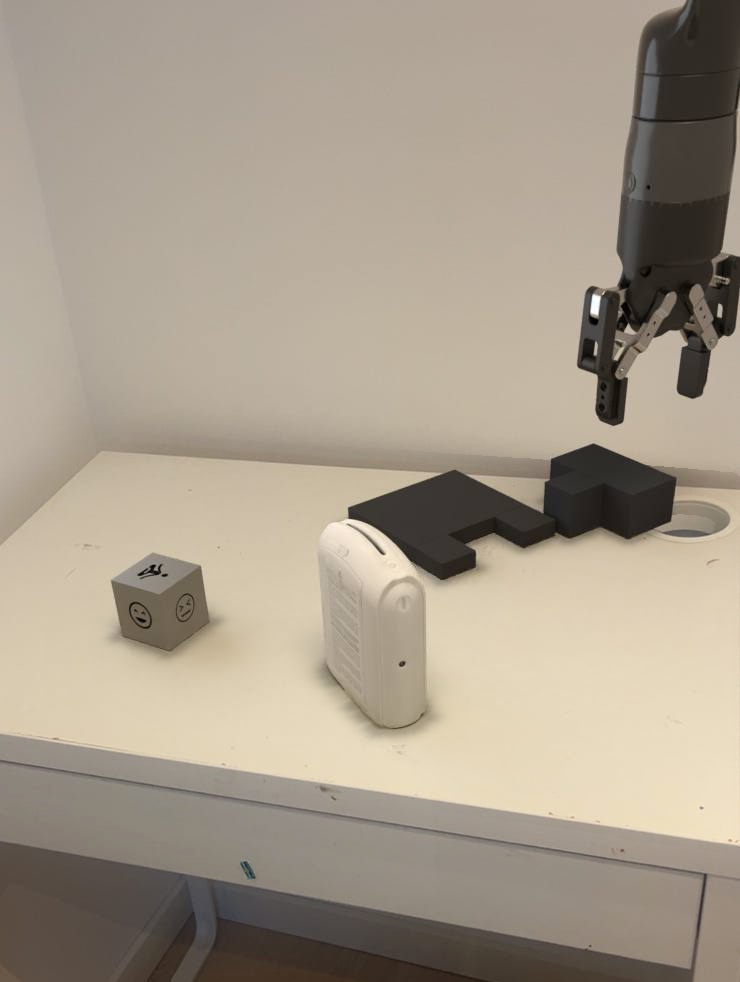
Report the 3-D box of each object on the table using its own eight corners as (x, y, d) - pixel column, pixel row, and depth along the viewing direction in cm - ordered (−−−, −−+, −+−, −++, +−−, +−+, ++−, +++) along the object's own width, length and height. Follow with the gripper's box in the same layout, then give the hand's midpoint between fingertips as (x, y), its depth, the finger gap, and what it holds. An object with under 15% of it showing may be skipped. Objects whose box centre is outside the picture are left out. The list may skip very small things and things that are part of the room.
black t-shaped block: (517, 512, 103) (519, 469, 101) (590, 484, 106) (593, 442, 104) (596, 552, 97) (599, 507, 94) (671, 521, 100) (676, 477, 97)
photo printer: (436, 718, 80) (434, 556, 73) (380, 737, 79) (372, 574, 71) (370, 650, 88) (362, 497, 80) (319, 666, 87) (305, 512, 79)
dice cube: (162, 607, 96) (152, 552, 93) (209, 621, 93) (200, 565, 90) (122, 635, 93) (110, 580, 90) (169, 651, 90) (159, 594, 87)
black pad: (454, 484, 109) (454, 469, 108) (555, 535, 99) (556, 519, 99) (348, 522, 105) (347, 507, 104) (442, 580, 95) (442, 563, 94)
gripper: (639, 212, 78) (616, 446, 88) (788, 173, 83) (750, 398, 93) (563, 196, 83) (550, 419, 93) (707, 160, 88) (680, 375, 98)
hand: (650, 408), depth 93 cm, fingers open, 8 cm apart
